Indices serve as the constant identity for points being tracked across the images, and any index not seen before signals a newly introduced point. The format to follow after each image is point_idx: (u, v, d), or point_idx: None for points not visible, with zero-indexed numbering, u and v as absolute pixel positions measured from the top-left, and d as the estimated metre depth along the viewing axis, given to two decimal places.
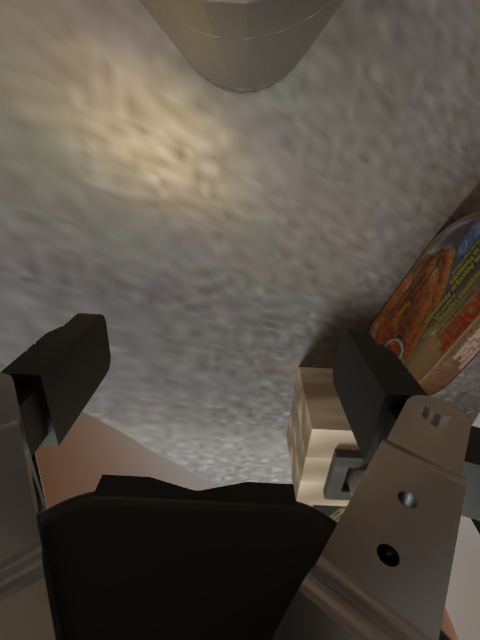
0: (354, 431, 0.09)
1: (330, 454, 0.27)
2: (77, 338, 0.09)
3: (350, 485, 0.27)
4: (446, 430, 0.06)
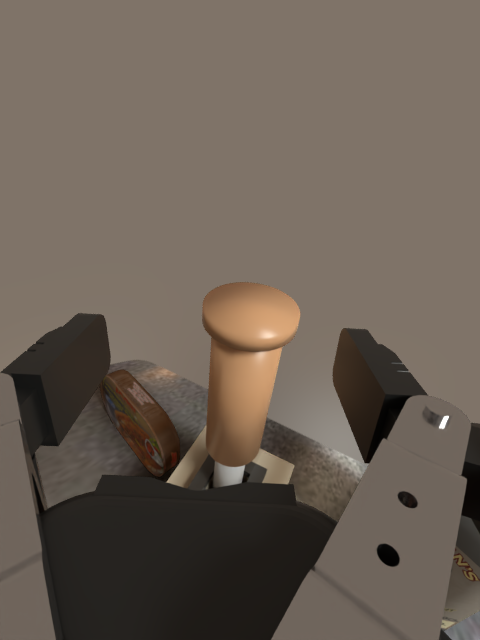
0: (354, 431, 0.09)
1: None
2: (77, 338, 0.09)
3: None
4: (446, 430, 0.06)
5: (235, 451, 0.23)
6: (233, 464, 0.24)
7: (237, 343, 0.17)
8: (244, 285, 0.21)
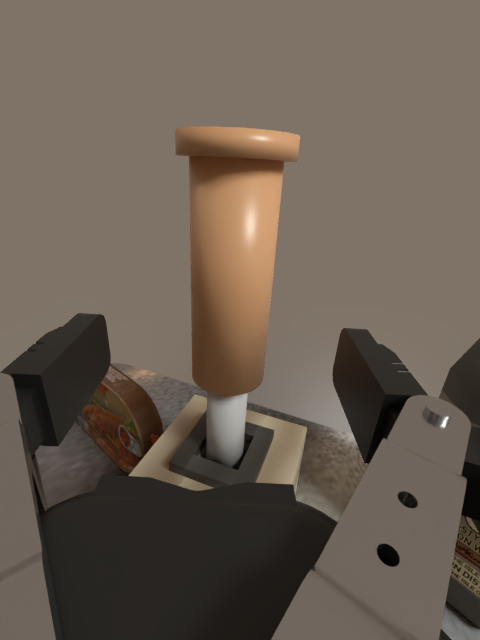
0: (354, 431, 0.09)
1: (176, 477, 0.21)
2: (77, 338, 0.09)
3: (215, 453, 0.22)
4: (446, 430, 0.06)
5: (232, 365, 0.18)
6: (231, 390, 0.18)
7: (223, 143, 0.13)
8: None
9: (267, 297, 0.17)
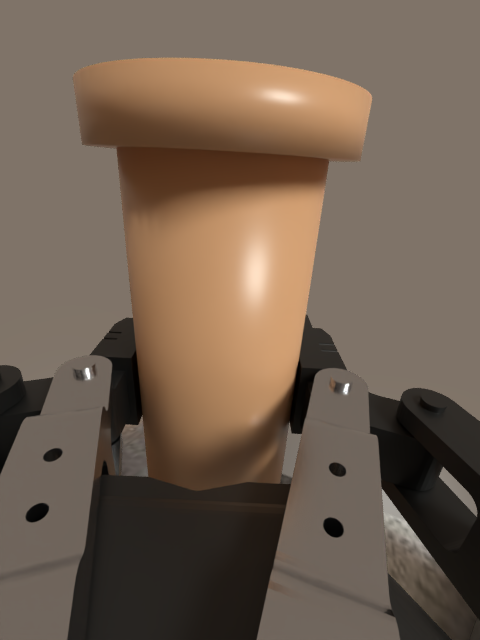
0: None
1: None
2: None
3: None
4: (343, 395, 0.07)
5: None
6: None
7: (178, 109, 0.04)
8: None
9: (285, 421, 0.09)
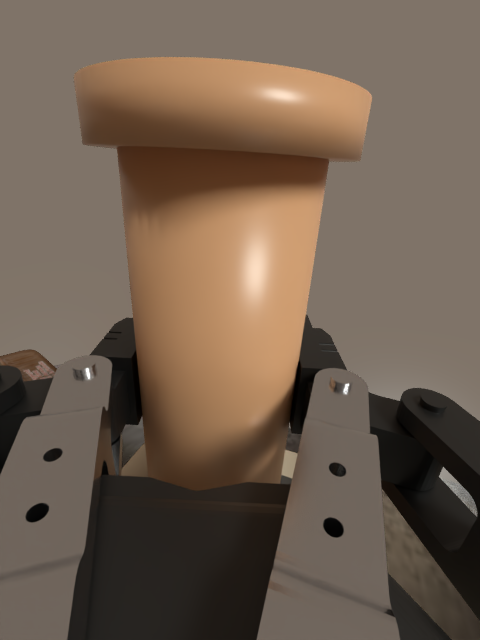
0: None
1: None
2: None
3: None
4: (343, 395, 0.07)
5: None
6: None
7: (178, 109, 0.04)
8: None
9: (285, 421, 0.09)
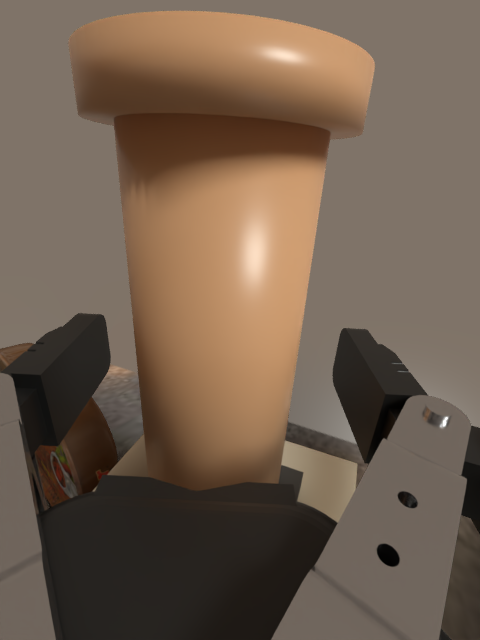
0: (354, 431, 0.09)
1: None
2: (77, 338, 0.09)
3: None
4: (446, 430, 0.06)
5: None
6: None
7: (175, 67, 0.04)
8: None
9: (285, 405, 0.09)
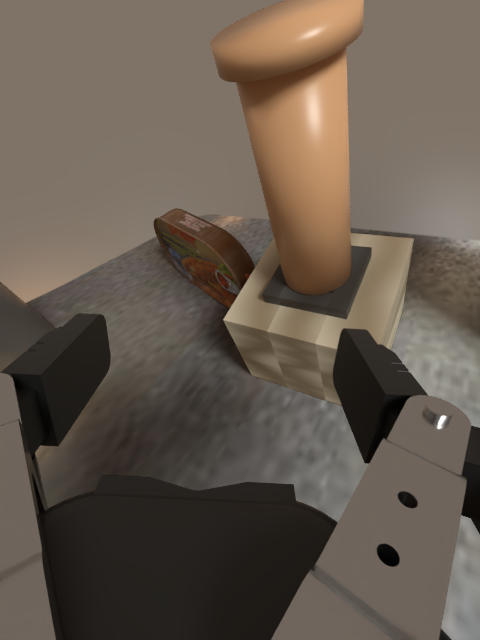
0: (354, 431, 0.09)
1: (272, 306, 0.22)
2: (77, 338, 0.09)
3: None
4: (446, 430, 0.06)
5: (318, 270, 0.19)
6: (320, 290, 0.20)
7: (266, 63, 0.11)
8: (270, 7, 0.14)
9: (345, 200, 0.17)
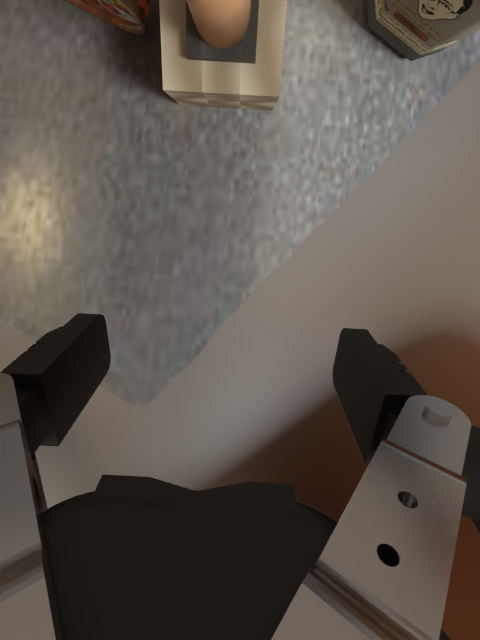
0: (354, 431, 0.09)
1: (196, 63, 0.27)
2: (77, 338, 0.09)
3: None
4: (446, 430, 0.06)
5: (233, 37, 0.24)
6: (233, 44, 0.26)
7: None
8: None
9: None
